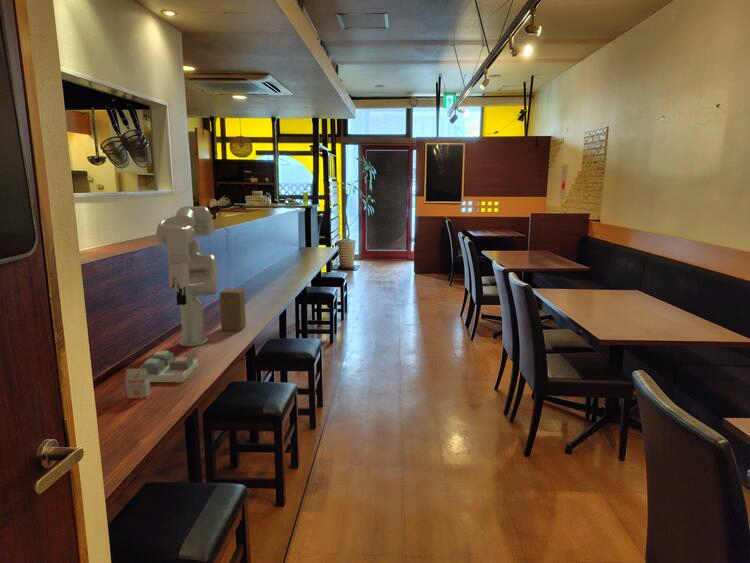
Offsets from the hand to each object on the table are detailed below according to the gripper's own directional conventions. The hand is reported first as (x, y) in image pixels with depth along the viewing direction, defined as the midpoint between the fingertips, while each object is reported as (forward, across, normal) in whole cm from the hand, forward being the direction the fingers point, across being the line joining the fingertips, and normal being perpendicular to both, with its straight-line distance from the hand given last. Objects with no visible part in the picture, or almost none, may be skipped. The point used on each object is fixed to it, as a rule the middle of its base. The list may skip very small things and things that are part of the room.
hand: (181, 304), depth 189 cm
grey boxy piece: (+25, +30, -6) cm, 40 cm away
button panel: (+25, +10, -2) cm, 27 cm away
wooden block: (+25, -50, +7) cm, 56 cm away
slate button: (+20, +15, -7) cm, 26 cm away
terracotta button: (+21, +10, +2) cm, 24 cm away
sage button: (+20, +6, -7) cm, 22 cm away
